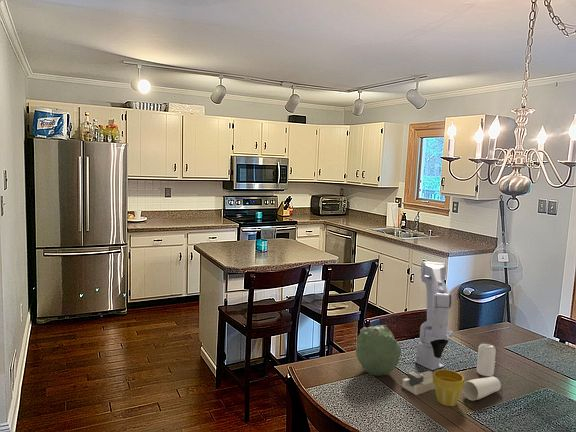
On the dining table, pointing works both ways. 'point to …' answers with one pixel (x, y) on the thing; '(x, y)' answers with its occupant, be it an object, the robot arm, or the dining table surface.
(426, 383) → the slider console
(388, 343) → the cabbage
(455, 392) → the plant pot
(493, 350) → the can
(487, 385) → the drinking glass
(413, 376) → the fader tab
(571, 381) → the dining table surface
